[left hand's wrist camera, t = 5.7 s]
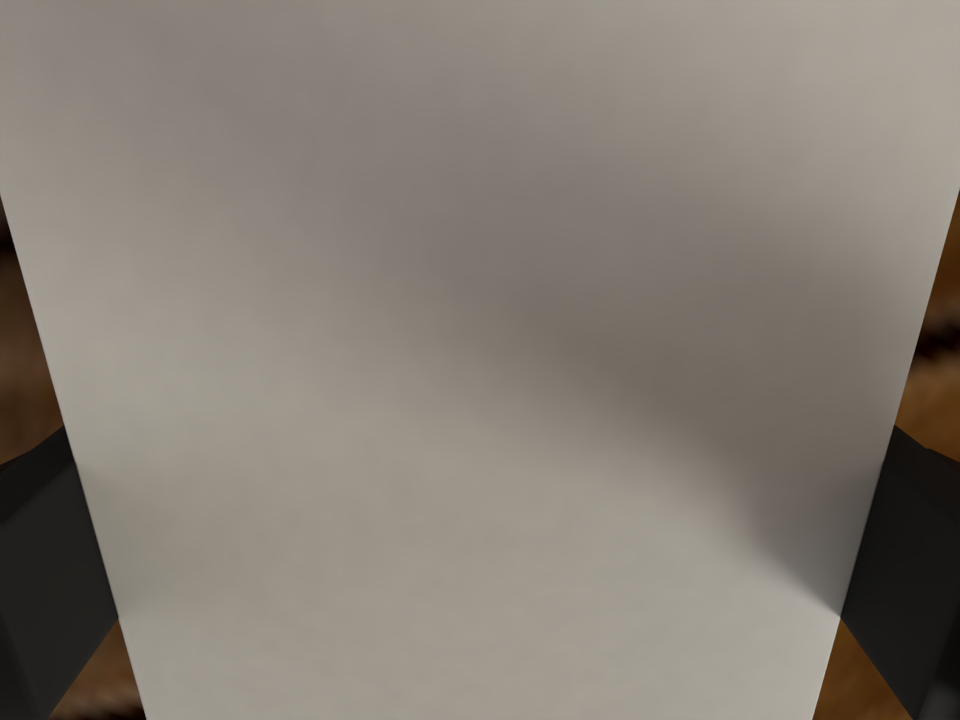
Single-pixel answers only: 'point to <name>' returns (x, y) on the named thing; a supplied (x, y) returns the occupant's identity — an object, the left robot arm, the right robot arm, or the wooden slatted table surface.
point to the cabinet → (479, 336)
